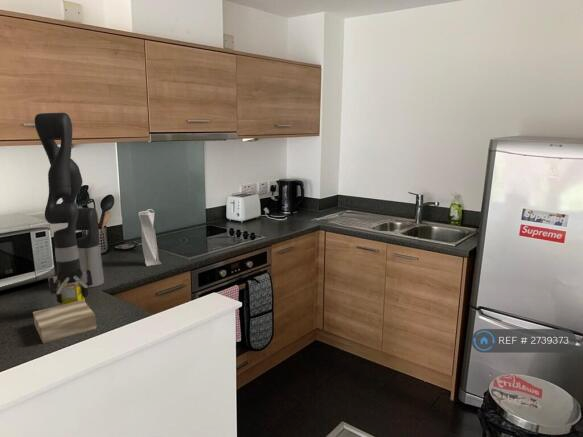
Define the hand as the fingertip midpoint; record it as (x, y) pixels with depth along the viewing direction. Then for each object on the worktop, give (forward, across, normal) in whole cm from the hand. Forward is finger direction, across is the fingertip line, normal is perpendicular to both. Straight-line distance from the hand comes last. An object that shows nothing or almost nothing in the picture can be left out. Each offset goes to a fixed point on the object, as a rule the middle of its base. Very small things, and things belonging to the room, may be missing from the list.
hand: (73, 299), depth 161 cm
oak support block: (+4, +6, +13) cm, 15 cm away
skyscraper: (+4, -42, -34) cm, 54 cm away
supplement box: (+4, 0, -1) cm, 4 cm away
